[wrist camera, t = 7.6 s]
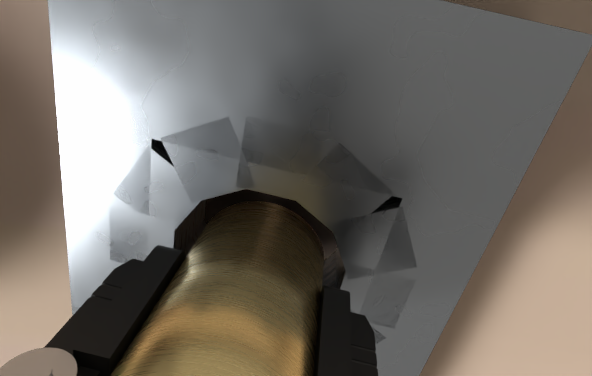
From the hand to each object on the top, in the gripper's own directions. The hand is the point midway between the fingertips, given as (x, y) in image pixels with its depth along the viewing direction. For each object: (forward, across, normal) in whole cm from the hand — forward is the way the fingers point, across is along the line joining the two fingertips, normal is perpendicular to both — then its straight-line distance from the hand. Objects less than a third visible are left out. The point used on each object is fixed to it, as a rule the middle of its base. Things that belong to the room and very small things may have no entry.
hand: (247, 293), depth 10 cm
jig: (+4, 0, 0) cm, 4 cm away
